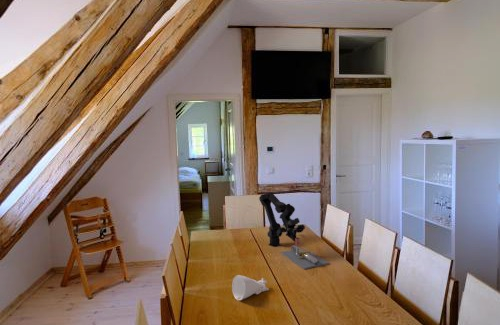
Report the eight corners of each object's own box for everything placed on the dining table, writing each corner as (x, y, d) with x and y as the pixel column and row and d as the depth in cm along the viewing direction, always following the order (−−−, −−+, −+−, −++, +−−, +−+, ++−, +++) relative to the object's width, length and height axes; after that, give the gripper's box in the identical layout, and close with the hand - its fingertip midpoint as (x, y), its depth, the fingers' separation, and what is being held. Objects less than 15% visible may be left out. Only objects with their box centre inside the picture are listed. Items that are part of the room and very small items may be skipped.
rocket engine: (269, 269, 167) (240, 270, 157) (277, 290, 160) (247, 293, 150) (258, 280, 173) (229, 282, 163) (265, 301, 166) (236, 304, 156)
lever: (295, 256, 204) (295, 237, 203) (298, 255, 205) (298, 237, 204) (296, 257, 202) (296, 238, 201) (300, 256, 203) (300, 238, 202)
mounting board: (281, 253, 215) (281, 252, 215) (303, 249, 222) (304, 247, 222) (304, 269, 189) (304, 267, 189) (329, 264, 196) (329, 262, 196)
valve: (289, 251, 216) (289, 244, 216) (297, 250, 218) (297, 243, 218) (311, 266, 192) (311, 258, 192) (320, 264, 195) (320, 256, 194)
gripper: (278, 215, 204) (287, 237, 195) (303, 212, 211) (313, 233, 202) (272, 224, 212) (281, 246, 203) (297, 221, 219) (306, 241, 210)
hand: (295, 241), depth 204 cm, fingers closed
